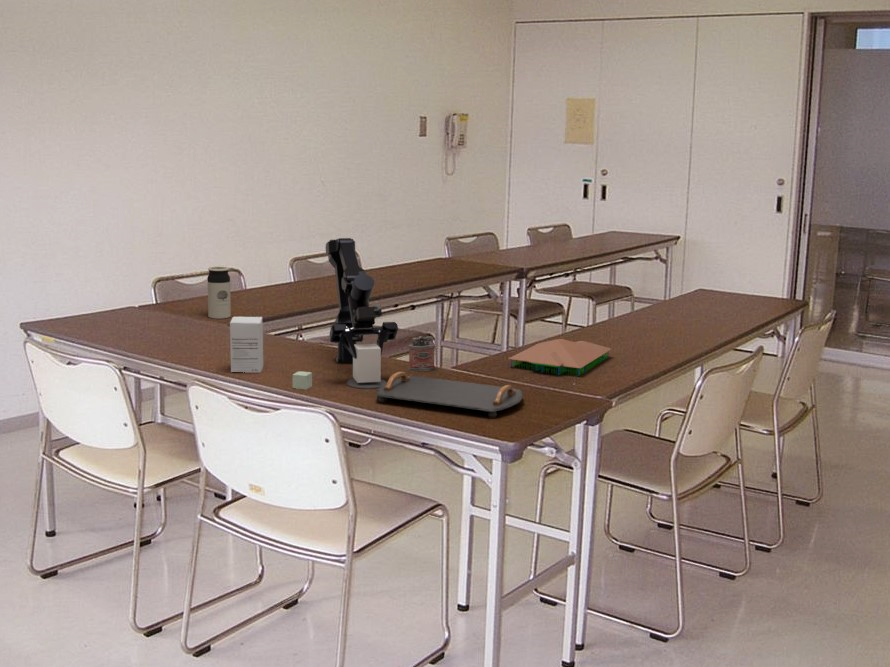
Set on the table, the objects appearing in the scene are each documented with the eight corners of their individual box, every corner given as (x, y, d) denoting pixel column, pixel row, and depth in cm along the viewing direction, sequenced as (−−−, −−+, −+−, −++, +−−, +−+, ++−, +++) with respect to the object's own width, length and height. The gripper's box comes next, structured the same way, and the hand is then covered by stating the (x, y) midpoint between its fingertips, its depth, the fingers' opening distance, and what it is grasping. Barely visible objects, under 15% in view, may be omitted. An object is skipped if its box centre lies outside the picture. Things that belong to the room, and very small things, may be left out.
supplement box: (233, 365, 314) (232, 316, 311) (263, 365, 315) (263, 316, 311) (230, 373, 305) (228, 322, 302) (261, 373, 306) (260, 322, 303)
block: (298, 385, 294) (298, 371, 293) (311, 386, 293) (311, 372, 292) (292, 388, 290) (292, 374, 289) (306, 390, 289) (306, 375, 288)
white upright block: (352, 377, 298) (352, 344, 296) (375, 376, 300) (375, 343, 298) (357, 382, 292) (357, 349, 290) (380, 381, 294) (380, 348, 292)
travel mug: (207, 315, 387) (206, 266, 384) (229, 314, 390) (228, 266, 386) (209, 319, 380) (208, 270, 376) (231, 318, 382) (230, 269, 379)
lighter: (410, 371, 311) (410, 338, 309) (407, 368, 314) (407, 336, 312) (436, 370, 314) (436, 337, 311) (433, 367, 317) (433, 335, 315)
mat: (345, 379, 301) (345, 377, 301) (383, 378, 303) (383, 377, 303) (348, 389, 290) (348, 387, 290) (388, 388, 292) (388, 386, 292)
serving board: (365, 403, 278) (365, 380, 277) (401, 383, 299) (402, 362, 298) (503, 422, 264) (504, 398, 263) (532, 400, 285) (533, 378, 284)
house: (504, 371, 316) (505, 344, 315) (543, 350, 345) (544, 325, 344) (576, 381, 306) (578, 353, 305) (611, 358, 335) (612, 333, 334)
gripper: (331, 295, 292) (338, 343, 284) (397, 293, 297) (406, 340, 289) (326, 317, 301) (333, 364, 293) (390, 315, 306) (398, 361, 298)
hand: (368, 357), depth 293 cm, fingers open, 7 cm apart
